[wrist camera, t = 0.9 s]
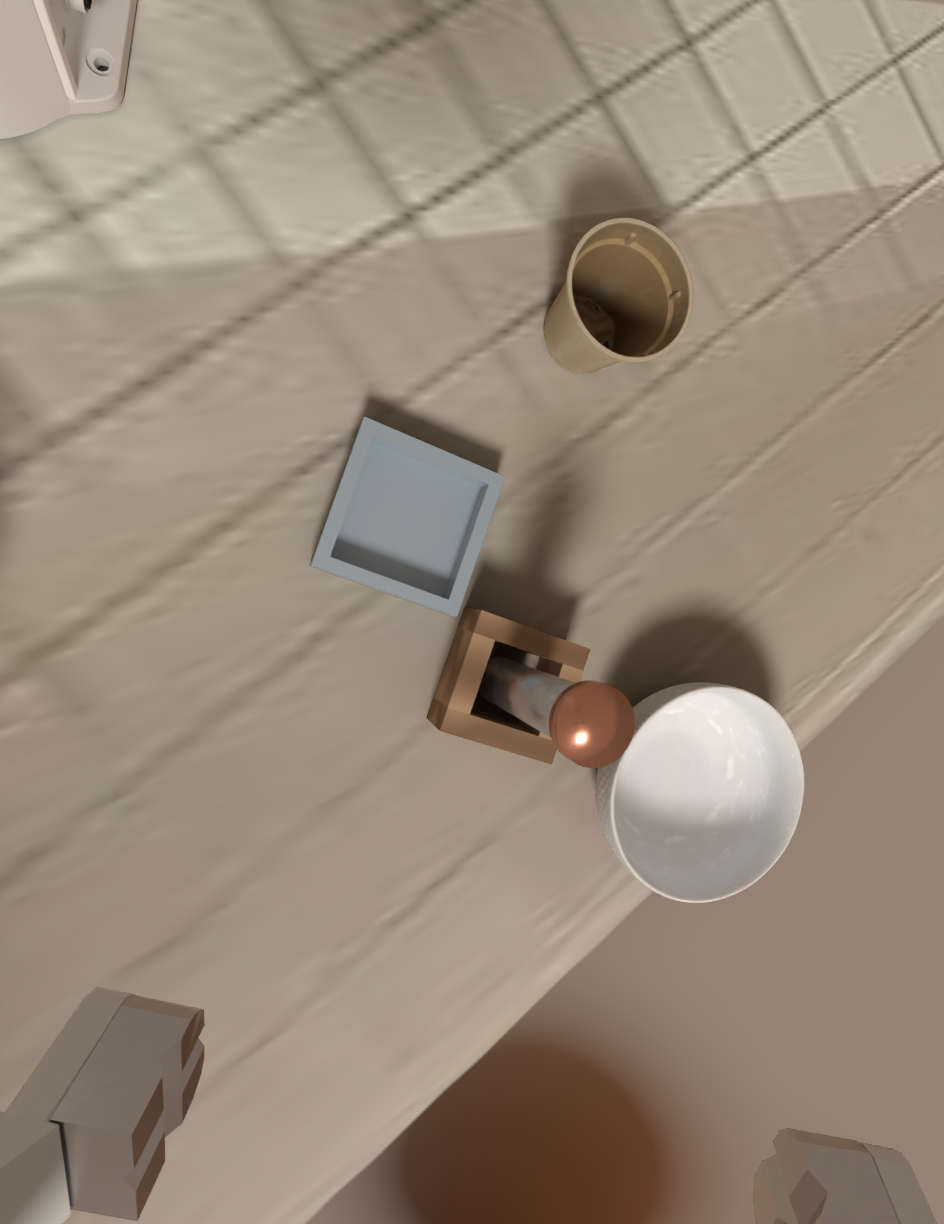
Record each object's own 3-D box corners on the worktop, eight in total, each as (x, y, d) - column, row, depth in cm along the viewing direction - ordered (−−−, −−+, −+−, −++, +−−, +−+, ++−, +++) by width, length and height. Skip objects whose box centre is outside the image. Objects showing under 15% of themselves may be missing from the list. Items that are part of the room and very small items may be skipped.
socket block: (464, 607, 51) (481, 609, 47) (565, 643, 54) (590, 649, 50) (426, 718, 51) (439, 730, 47) (529, 749, 53) (551, 764, 49)
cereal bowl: (702, 637, 57) (758, 645, 51) (772, 798, 60) (834, 826, 54) (539, 738, 54) (576, 761, 47) (621, 904, 57) (668, 948, 50)
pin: (481, 643, 52) (573, 672, 35) (532, 661, 53) (645, 697, 37) (461, 698, 52) (546, 755, 35) (514, 715, 53) (619, 777, 36)
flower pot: (521, 389, 52) (566, 353, 44) (523, 266, 51) (569, 206, 43) (629, 399, 54) (691, 367, 46) (632, 282, 54) (695, 228, 46)
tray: (360, 424, 49) (364, 416, 46) (494, 481, 52) (505, 476, 49) (309, 565, 48) (311, 565, 46) (448, 615, 51) (456, 617, 49)
